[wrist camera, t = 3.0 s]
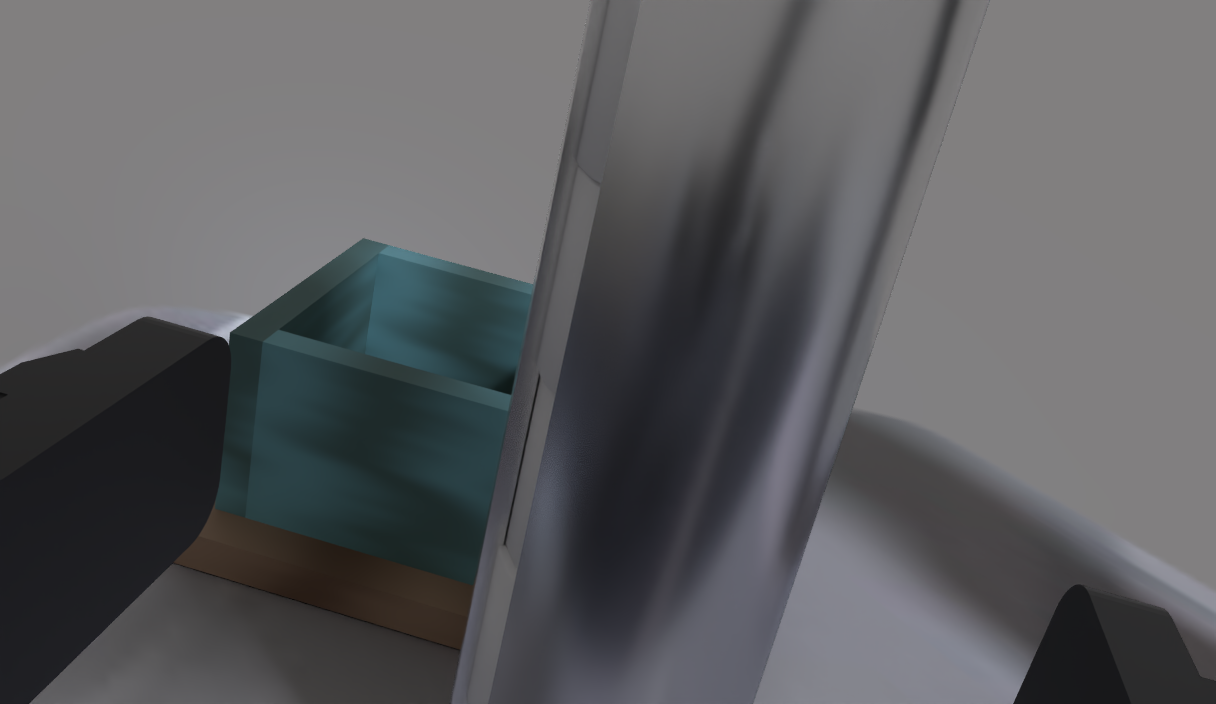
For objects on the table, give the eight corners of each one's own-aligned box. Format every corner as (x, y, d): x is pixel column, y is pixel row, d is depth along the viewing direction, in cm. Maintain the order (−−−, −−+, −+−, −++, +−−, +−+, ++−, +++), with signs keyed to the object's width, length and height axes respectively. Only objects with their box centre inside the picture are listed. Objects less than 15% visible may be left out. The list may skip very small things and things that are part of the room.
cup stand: (690, 490, 45) (737, 324, 42) (637, 703, 33) (697, 492, 30) (262, 368, 46) (279, 200, 43) (63, 529, 34) (69, 313, 31)
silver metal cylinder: (454, 728, 30) (671, -333, 20) (691, 784, 30) (1022, -250, 20) (390, 937, 24) (653, -419, 14) (684, 1006, 24) (1149, -302, 14)
